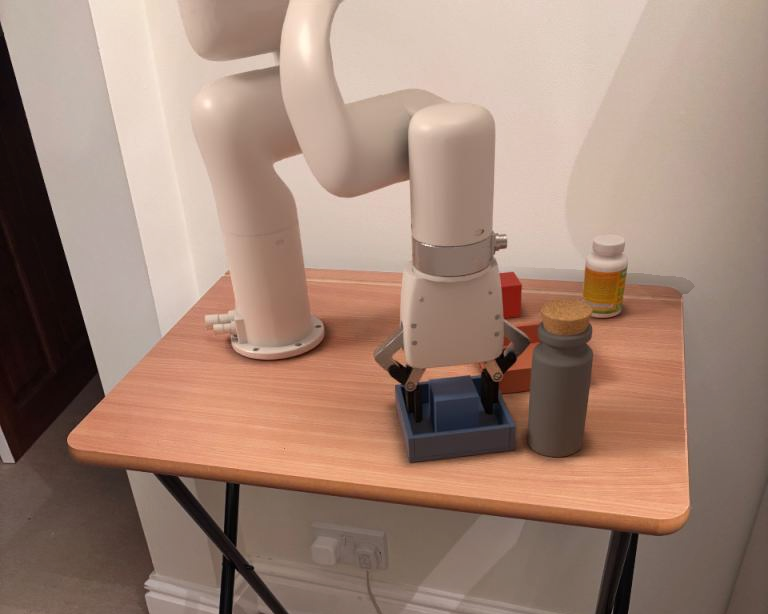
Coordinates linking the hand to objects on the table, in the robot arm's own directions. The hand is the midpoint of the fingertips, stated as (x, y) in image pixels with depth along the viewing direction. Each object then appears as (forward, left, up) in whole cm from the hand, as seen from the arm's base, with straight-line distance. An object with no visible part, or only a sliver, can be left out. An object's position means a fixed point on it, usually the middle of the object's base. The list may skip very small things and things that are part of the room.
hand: (451, 411), depth 84 cm
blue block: (0, 0, -1) cm, 2 cm away
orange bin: (+12, +11, -2) cm, 16 cm away
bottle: (+10, -5, -2) cm, 11 cm away
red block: (+12, +27, -2) cm, 30 cm away
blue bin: (0, 0, -2) cm, 2 cm away
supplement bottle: (+25, +24, -2) cm, 35 cm away
